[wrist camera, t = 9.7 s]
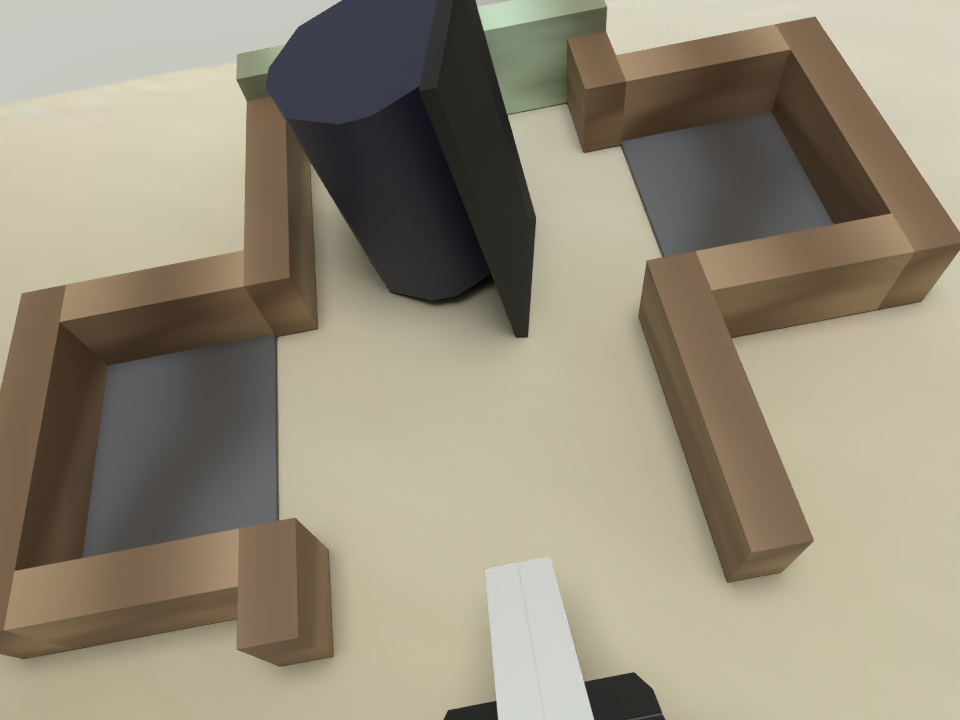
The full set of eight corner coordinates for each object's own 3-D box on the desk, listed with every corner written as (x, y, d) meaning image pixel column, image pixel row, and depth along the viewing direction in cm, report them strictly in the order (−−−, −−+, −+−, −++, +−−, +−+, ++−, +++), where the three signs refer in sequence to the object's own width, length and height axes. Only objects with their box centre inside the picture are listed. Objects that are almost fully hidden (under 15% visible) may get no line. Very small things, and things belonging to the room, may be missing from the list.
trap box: (14, 716, 20) (-103, 703, 16) (103, 168, 31) (45, 91, 27) (1052, 521, 19) (1156, 466, 16) (766, 39, 31) (791, -55, 27)
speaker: (588, 214, 26) (552, -66, 18) (526, 342, 24) (449, 95, 15) (414, 178, 29) (309, -78, 21) (345, 288, 27) (194, 55, 18)
